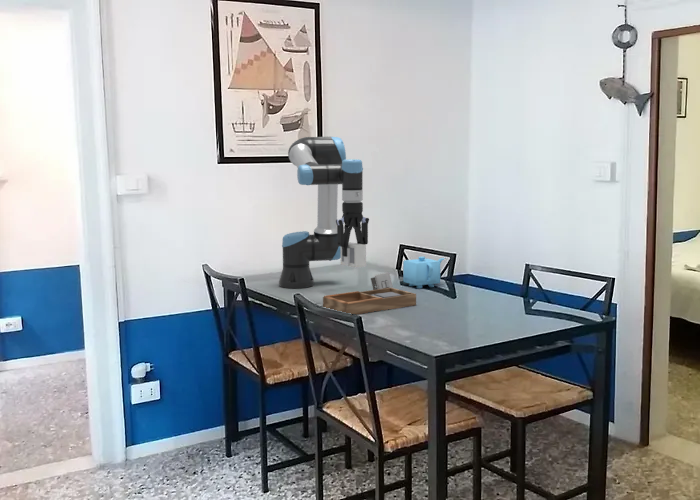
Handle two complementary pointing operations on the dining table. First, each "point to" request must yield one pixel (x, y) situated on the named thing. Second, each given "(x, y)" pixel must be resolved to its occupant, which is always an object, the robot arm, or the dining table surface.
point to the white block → (356, 255)
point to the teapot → (421, 272)
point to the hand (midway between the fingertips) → (352, 264)
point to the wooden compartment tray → (368, 301)
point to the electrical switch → (381, 281)
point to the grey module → (386, 294)
